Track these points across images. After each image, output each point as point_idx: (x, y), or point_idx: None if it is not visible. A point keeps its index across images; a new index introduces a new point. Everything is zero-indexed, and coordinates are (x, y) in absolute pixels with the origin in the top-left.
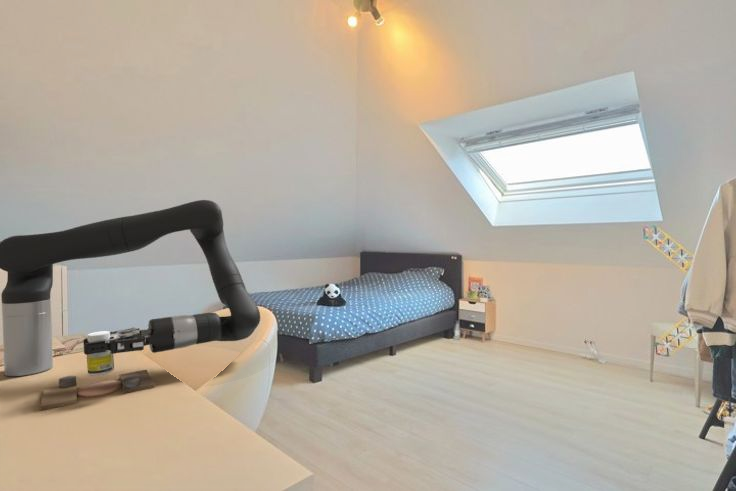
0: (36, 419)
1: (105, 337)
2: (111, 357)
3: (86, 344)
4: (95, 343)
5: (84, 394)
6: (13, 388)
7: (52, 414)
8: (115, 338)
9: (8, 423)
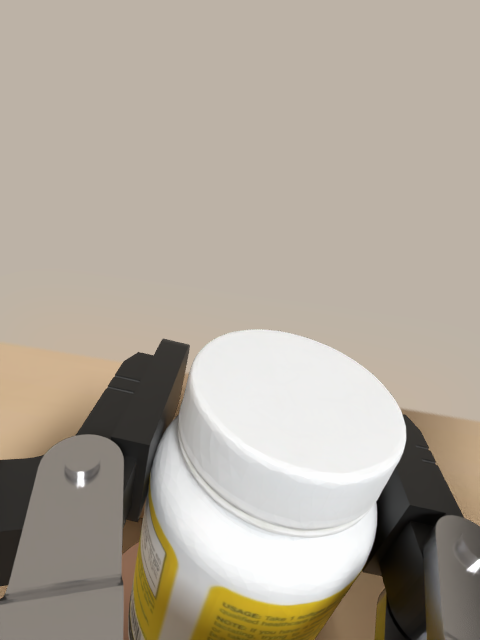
0: (50, 394)
1: (188, 438)
2: (160, 633)
3: (160, 344)
4: (141, 384)
5: (137, 543)
6: (412, 420)
7: (43, 426)
8: (89, 545)
9: (97, 360)
